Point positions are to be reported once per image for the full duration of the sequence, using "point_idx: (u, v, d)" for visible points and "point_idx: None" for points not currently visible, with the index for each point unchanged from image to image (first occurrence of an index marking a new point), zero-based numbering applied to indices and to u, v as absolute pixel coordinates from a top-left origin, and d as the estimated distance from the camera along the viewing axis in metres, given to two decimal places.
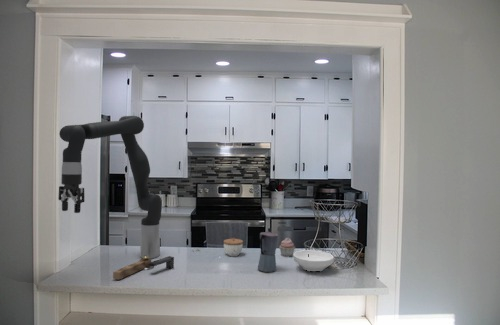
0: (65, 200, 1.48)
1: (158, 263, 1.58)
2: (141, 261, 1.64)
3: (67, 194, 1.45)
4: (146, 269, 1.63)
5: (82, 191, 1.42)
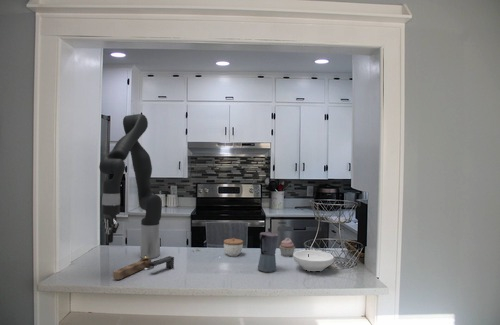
0: None
1: (158, 263, 1.58)
2: (141, 261, 1.64)
3: None
4: (146, 269, 1.63)
5: None
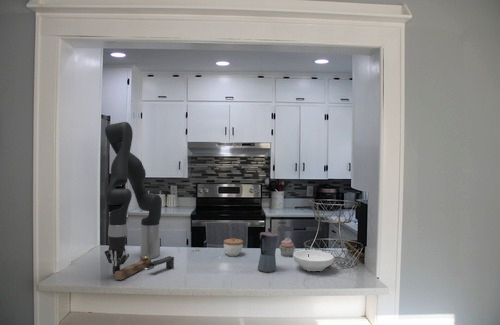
0: None
1: (158, 263, 1.58)
2: (141, 261, 1.64)
3: None
4: (146, 269, 1.63)
5: None
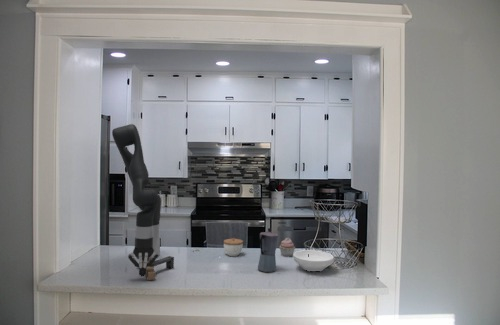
0: (143, 265, 1.50)
1: (158, 263, 1.58)
2: None
3: None
4: None
5: None
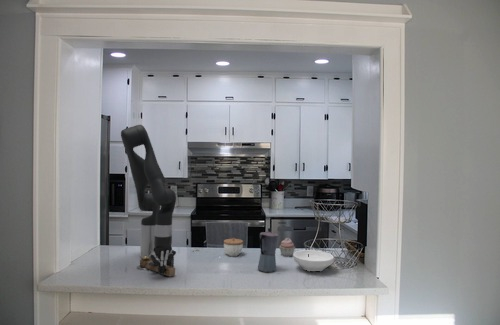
0: None
1: None
2: (149, 261, 1.64)
3: None
4: (146, 269, 1.63)
5: (151, 258, 1.49)
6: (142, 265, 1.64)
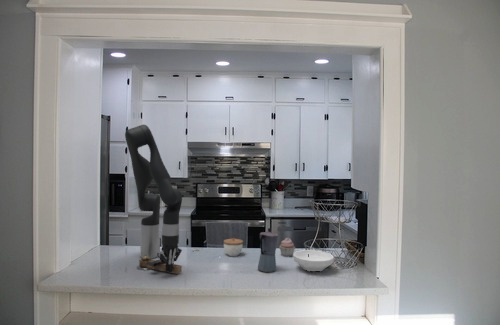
0: None
1: (158, 263, 1.58)
2: (150, 260, 1.65)
3: None
4: (146, 269, 1.63)
5: (160, 257, 1.51)
6: (143, 265, 1.64)
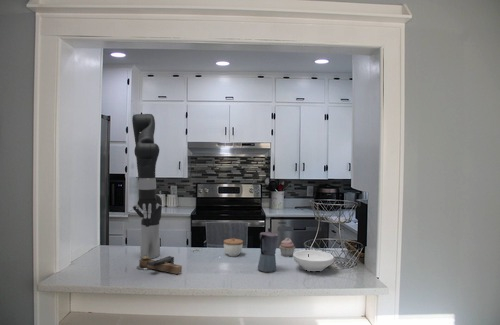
0: (148, 215, 1.56)
1: (158, 263, 1.58)
2: (150, 260, 1.65)
3: None
4: (146, 269, 1.63)
5: None
6: (143, 265, 1.64)
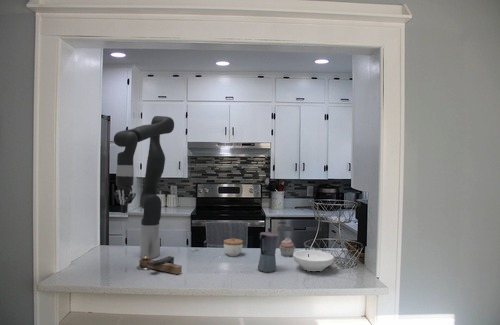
0: None
1: (158, 263, 1.58)
2: (150, 260, 1.65)
3: None
4: (146, 269, 1.63)
5: None
6: (143, 265, 1.64)
